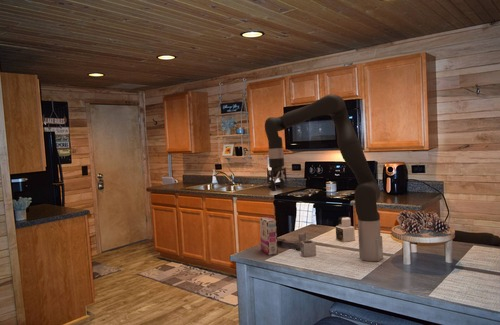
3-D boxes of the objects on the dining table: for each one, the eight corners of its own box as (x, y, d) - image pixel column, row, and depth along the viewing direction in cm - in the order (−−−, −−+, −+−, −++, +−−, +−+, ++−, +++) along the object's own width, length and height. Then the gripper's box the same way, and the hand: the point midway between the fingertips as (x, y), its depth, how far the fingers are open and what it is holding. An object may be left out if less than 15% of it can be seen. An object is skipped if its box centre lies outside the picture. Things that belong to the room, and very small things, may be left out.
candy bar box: (278, 254, 181) (276, 220, 180) (268, 256, 179) (266, 221, 179) (270, 248, 192) (268, 216, 191) (260, 250, 190) (258, 217, 189)
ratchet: (313, 247, 189) (313, 232, 189) (306, 251, 182) (305, 236, 182) (275, 242, 202) (275, 228, 201) (267, 246, 195) (266, 232, 195)
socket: (312, 252, 181) (311, 240, 180) (316, 255, 175) (315, 242, 175) (300, 253, 180) (300, 241, 179) (304, 257, 174) (303, 244, 174)
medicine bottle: (335, 239, 202) (334, 216, 201) (347, 237, 204) (346, 215, 203) (343, 242, 195) (342, 219, 194) (355, 240, 197) (354, 217, 196)
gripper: (275, 158, 182) (277, 192, 183) (289, 156, 194) (291, 188, 195) (262, 158, 187) (264, 191, 187) (277, 156, 198) (278, 187, 199)
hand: (278, 189), depth 191 cm, fingers open, 8 cm apart
